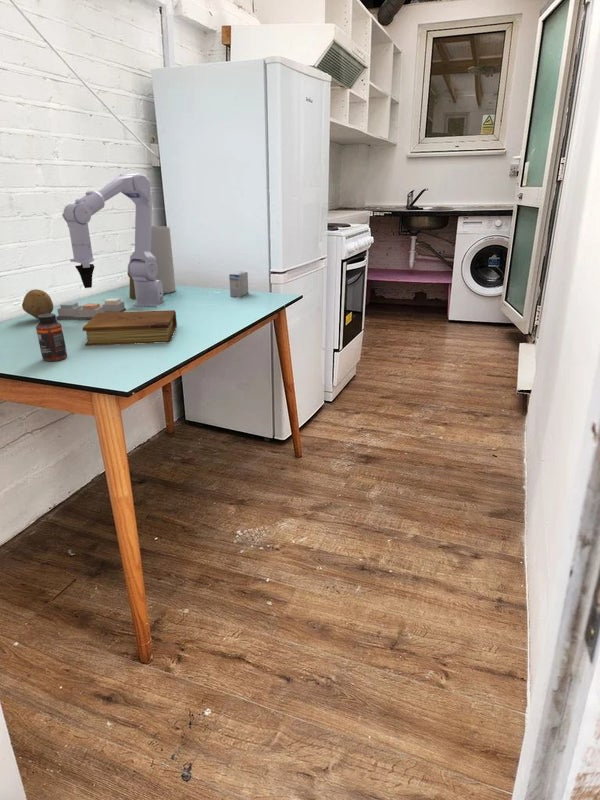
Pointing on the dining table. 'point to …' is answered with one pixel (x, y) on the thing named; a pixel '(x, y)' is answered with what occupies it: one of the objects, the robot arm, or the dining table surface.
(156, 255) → the tall grey block
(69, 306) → the button slate
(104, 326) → the diary
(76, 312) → the board
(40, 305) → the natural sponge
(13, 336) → the dining table surface
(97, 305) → the button terracotta
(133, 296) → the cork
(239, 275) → the medicine box
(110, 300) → the button cream
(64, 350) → the supplement bottle
